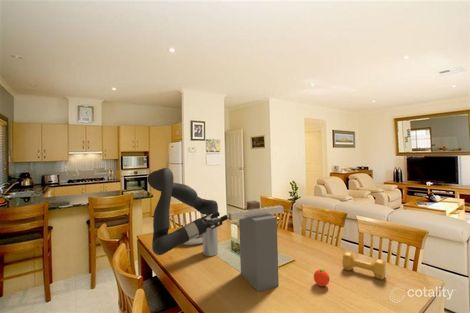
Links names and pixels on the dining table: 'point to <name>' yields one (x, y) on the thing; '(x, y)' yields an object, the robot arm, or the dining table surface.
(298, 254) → the dining table surface
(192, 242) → the bowl
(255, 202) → the walnut block
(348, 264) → the dumbbell
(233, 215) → the rod
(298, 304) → the dining table surface
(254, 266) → the stand
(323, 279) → the tomato
